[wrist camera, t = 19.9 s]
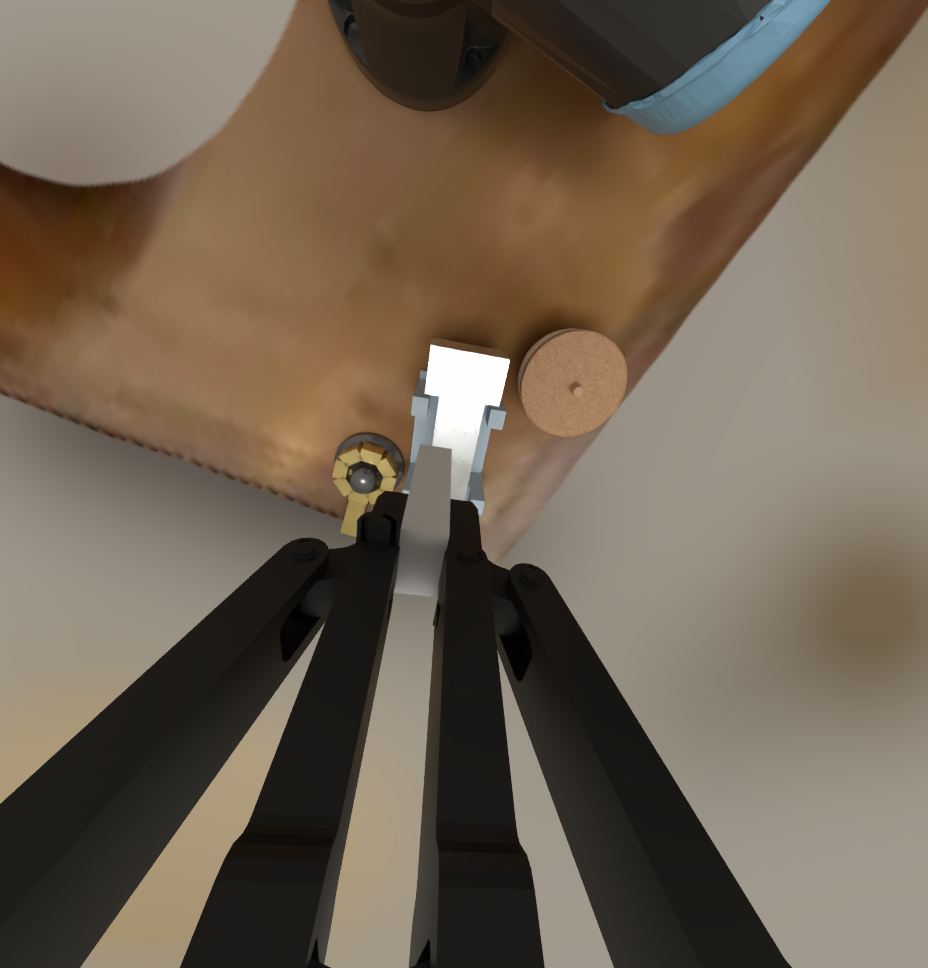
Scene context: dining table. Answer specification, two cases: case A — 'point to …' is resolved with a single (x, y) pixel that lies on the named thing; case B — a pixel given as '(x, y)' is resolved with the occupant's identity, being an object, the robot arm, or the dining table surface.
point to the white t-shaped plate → (463, 399)
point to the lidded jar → (572, 381)
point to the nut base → (368, 472)
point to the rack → (424, 433)
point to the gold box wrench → (344, 473)
